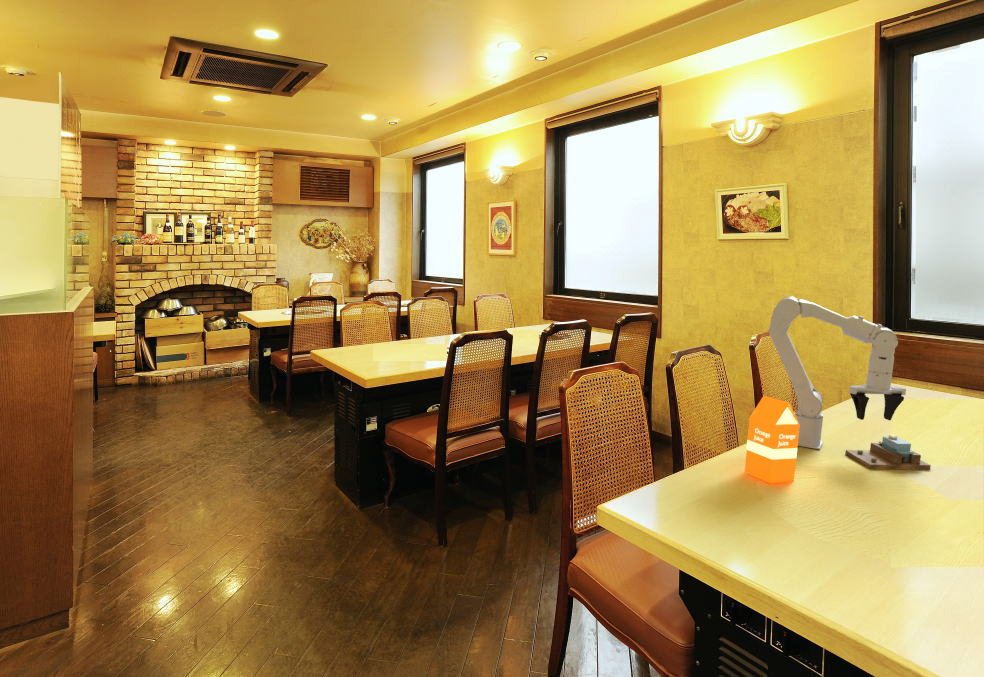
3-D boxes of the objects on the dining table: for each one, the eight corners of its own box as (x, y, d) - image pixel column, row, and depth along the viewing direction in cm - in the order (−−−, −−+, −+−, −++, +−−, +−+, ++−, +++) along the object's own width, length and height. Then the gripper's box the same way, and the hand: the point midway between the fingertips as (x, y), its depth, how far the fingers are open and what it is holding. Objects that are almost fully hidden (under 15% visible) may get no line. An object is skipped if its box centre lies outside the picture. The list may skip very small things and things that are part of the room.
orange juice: (767, 470, 157) (775, 395, 156) (794, 481, 149) (802, 402, 147) (743, 472, 155) (750, 395, 153) (769, 483, 147) (777, 403, 145)
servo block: (912, 463, 159) (915, 443, 158) (898, 463, 159) (901, 443, 158) (890, 452, 168) (893, 432, 167) (877, 452, 168) (880, 432, 167)
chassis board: (869, 468, 158) (871, 455, 158) (845, 454, 169) (846, 441, 168) (930, 469, 158) (931, 456, 158) (901, 454, 169) (903, 442, 169)
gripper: (862, 374, 162) (856, 422, 164) (916, 375, 162) (909, 423, 164) (847, 368, 169) (841, 415, 171) (898, 369, 169) (892, 416, 171)
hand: (873, 419), depth 168 cm, fingers open, 7 cm apart
